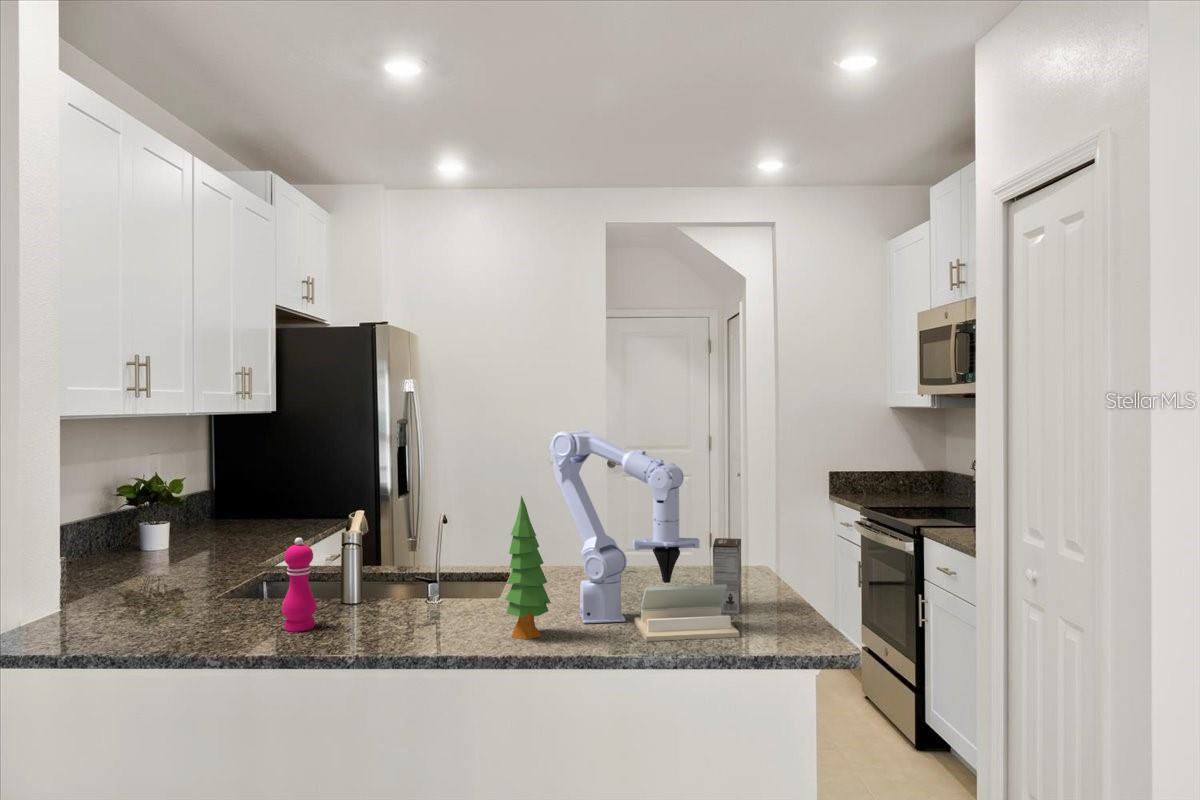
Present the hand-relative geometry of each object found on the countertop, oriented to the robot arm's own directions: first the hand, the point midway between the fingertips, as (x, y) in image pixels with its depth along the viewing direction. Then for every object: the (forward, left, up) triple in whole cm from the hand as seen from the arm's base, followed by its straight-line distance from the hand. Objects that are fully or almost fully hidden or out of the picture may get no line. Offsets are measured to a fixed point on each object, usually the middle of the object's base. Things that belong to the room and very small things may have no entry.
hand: (666, 581), depth 177 cm
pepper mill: (-80, +13, -11) cm, 82 cm away
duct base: (+4, -1, -10) cm, 11 cm away
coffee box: (+18, +14, -11) cm, 25 cm away
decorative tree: (-30, 0, -11) cm, 32 cm away
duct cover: (+4, 0, -4) cm, 6 cm away
